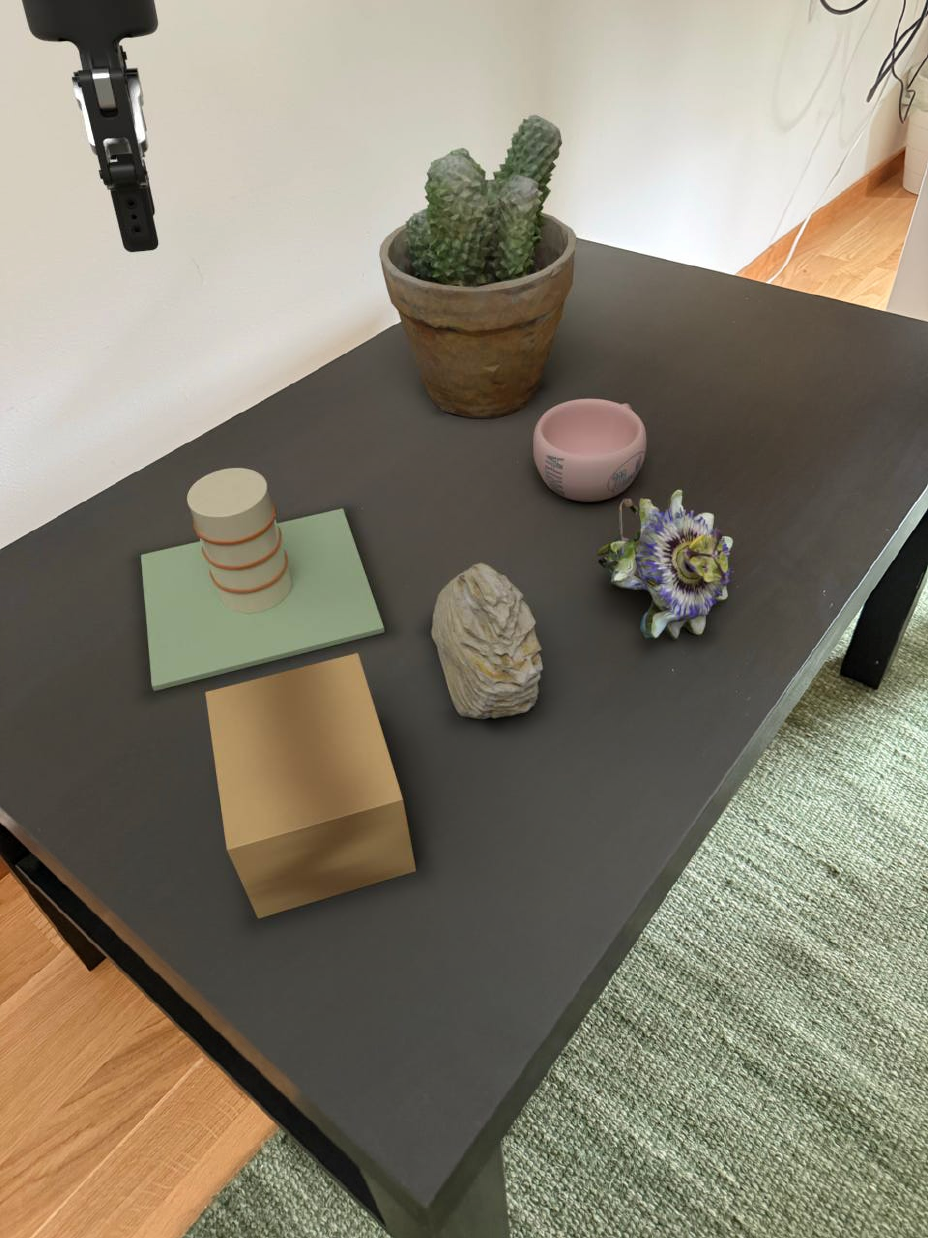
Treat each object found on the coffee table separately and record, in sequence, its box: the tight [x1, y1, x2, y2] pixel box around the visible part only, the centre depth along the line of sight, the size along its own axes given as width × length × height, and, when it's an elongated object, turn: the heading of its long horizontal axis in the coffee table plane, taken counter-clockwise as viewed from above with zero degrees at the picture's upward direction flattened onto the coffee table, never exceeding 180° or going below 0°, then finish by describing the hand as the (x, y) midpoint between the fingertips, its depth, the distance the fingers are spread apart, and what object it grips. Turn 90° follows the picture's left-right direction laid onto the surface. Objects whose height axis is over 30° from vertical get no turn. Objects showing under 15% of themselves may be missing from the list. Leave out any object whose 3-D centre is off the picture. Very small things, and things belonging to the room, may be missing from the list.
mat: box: [140, 508, 386, 692], centre depth 77 cm, size 18×16×1 cm
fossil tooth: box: [431, 562, 544, 720], centre depth 66 cm, size 12×6×15 cm
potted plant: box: [378, 114, 578, 419], centre depth 88 cm, size 18×19×25 cm
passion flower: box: [596, 489, 736, 641], centre depth 71 cm, size 11×11×12 cm
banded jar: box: [186, 467, 292, 613], centre depth 73 cm, size 6×6×10 cm
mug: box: [532, 398, 647, 503], centre depth 84 cm, size 12×10×6 cm
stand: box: [204, 652, 417, 920], centre depth 59 cm, size 10×12×8 cm
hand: (141, 232), depth 64 cm, fingers open, 8 cm apart
